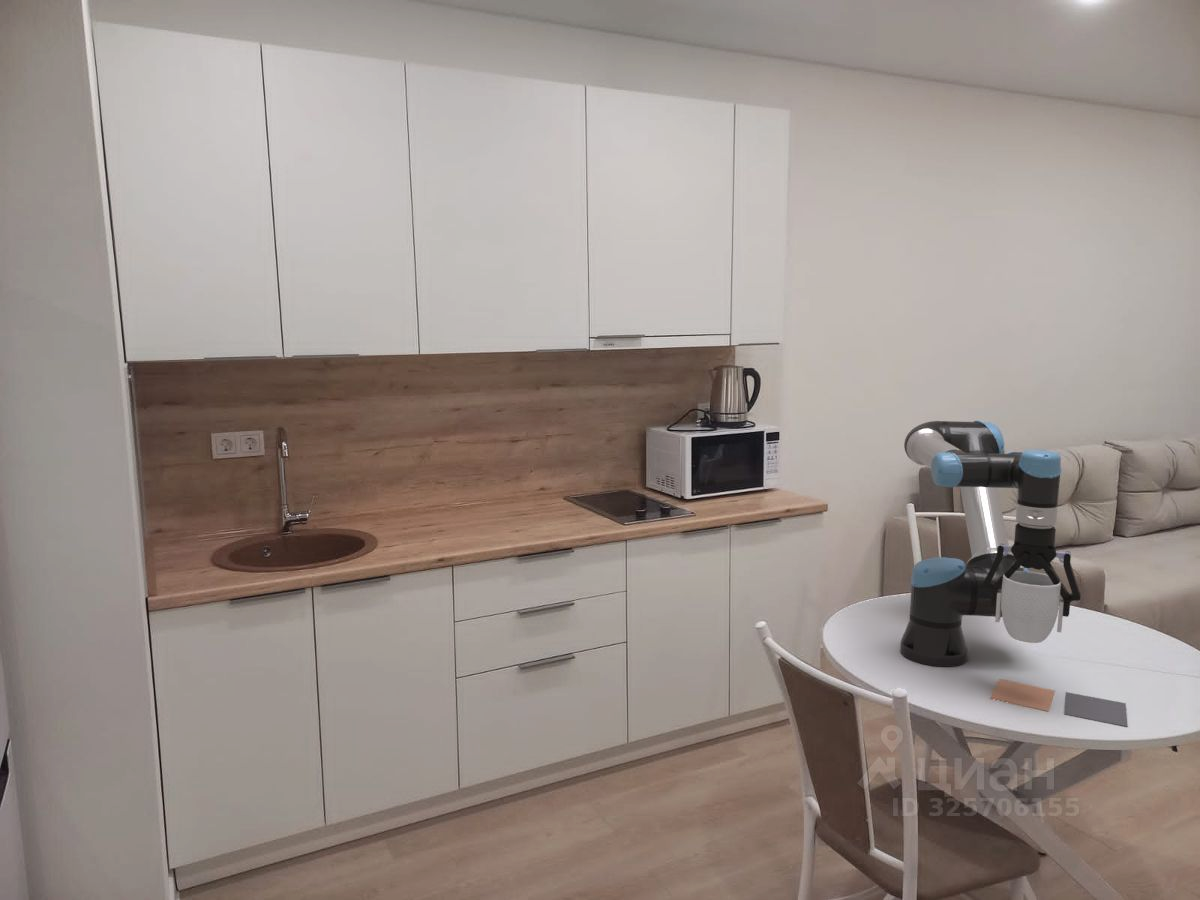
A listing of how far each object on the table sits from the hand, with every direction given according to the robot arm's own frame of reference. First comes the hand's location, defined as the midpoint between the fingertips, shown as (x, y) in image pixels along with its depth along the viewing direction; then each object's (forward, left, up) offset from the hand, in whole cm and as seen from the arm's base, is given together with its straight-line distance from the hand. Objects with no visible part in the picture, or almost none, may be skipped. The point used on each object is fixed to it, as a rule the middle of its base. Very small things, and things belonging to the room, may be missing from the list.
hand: (1028, 625), depth 178 cm
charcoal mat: (+14, 0, -16) cm, 21 cm away
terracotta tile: (0, 0, -16) cm, 16 cm away
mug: (-1, 0, -3) cm, 3 cm away
